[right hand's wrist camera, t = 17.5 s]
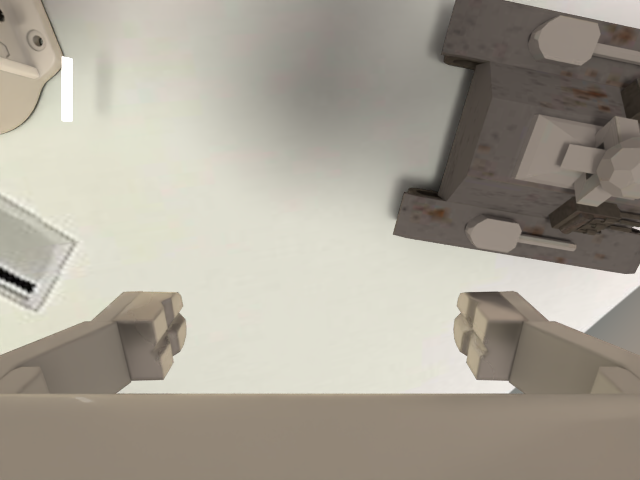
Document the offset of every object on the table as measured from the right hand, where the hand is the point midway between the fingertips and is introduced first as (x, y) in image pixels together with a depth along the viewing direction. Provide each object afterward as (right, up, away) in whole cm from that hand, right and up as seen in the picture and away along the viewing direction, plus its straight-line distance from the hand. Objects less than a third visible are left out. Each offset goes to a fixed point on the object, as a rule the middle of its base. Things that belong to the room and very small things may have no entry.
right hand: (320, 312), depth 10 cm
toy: (+21, +12, +25) cm, 35 cm away
